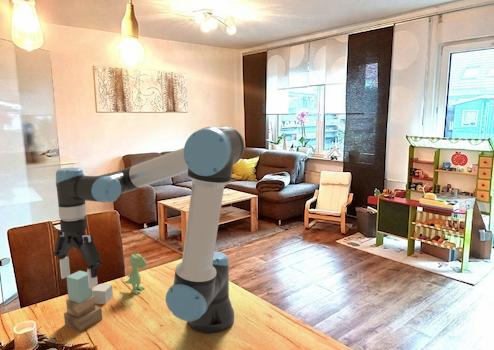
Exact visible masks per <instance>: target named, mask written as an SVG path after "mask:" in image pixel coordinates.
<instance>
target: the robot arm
mask: <svg viewBox="0 0 494 350" xmlns="http://www.w3.org/2000/svg"><path fill="white" fill-rule="evenodd" d="M245 146H246V145H245V139H244V137H243V136H242V134H241V133H240V132H239V131H238V130H237V129H236V128H234V127H231V126H227V125H221V126H205V127H203V128H200V129H197V130H196V131H194V132H193V133H191V134H190V136H188V137H187V139H186V141H185V144H184V146H183V147H182V148H179V149H176V150H174V151H171V152H168V153H165V154H162V155H160V156H157V157H154V158H152V159H149V160H146V161H143V162H140V163H138V164H134V165H132V166H129V167H126V168H123V169H121V170H120V169H119V170H117V171H113V172H110V173H106V174H101V175H84V171H83V169H82V168H81V167H80V168H79V167H64V168H59V169H57V170H56V172H55V186H56V187H55V188H56V193H57V204H58V216H59V217H58V218H59V219H60V220H59V224H60V230H57V239H56V244H55V247H54V250H53V251H54V252H53V255H54V257H57V259H58V260H59V261H58V262H59V268H60V278H61V280H64V279H67V276H69V275H71V269H70V258H69V257H70V256H69V252H70V251H71V248H72V247H73V248H75V249H76V250H77V251H79V252H80V254H81V256H82V257H83V260H84V261H85V262H86V264H87V266H88V267H87V268H86V269H87V270H86V272H87V273H88V284H89V288H90V289H91V288H92V289H94V288H95V287H97V286H98V285H99V284H98V281H99V280H98V276H99V275H98V267H100V266H102V265H103V262H102V259H101V256H100V254H99V252H98V249H97V246H96V244H95V243H94V235H92V234H89V235H87V234H86V232H85V231H86V230H87V229H88V217H87V216H86V215H87V207H86V202H98V203H113V202H116V201H117V200H118V198H119V197H120V195H123V194H125V193H129V192H132V191H135V190H137V189H140V188H144V187H147V186H150V185H153V184H155V183H158V182H162V181H165V180H168V179H170V178H171V179H172V178H173V177H177V176H180V175H183V174H186V173H187V177H188V178H189V180H190V181H191V189H190V198H189V206H188V212H187V213H188V214H187V222H186V230H185V236H184V237H185V238H184V243H183V251H182V259H181V260H182V261H181V262H179V263H178V264H176V267H175V271H174V276H173V277H174V280H173V284H172V285H171V286H169V287H168V289H167V292H166V295H165V303H166V304H165V305H166V307H167V308H168V310H169V311H170V312H171V313H172V315H173V316H175V317H176V318H177V319H179V320H181V321H183V322H184V321H185V322H188V325H189V326H190V327H191V329H193V330H194V331H196V332H199V333H204V334H214V333H215V334H216V333H219V332H222V331H224V330H225V331H226V330H227V329H229V328H230V327H231V326H232V325H233V323H234V322H235V311H234V308H233V306H232V302H231V300H230V295H229V294H230V292H229V291H230V288H229V286H230V281H229V280H230V276H229V275H230V273H229V269H230V268H229V267H230V263H229V257H228V255H227V254H226V253H223V252H220V251H215V249H216V243H217V236H218V229H219V224H220V216H221V209H222V204H223V197H224V191H225V190H224V189H225V187H226V185H228V184H229V183H231V181H232V174H233V170H234V169H233V168H234V165H235V164H237V163H238V162H239V161H240V160H241V159H242V157H243V155H244V152H245Z"/></svg>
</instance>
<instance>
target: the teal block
mask: <svg viewBox="0 0 494 350" xmlns="http://www.w3.org/2000/svg"><path fill="white" fill-rule="evenodd" d="M66 287H67V288H66V289H67V296H68V298H67V299H69V300H70V301H73V302H76V303H79V304H80V303H81V302H83V301H85V300H87V299H89V298H90V297H92V296H93V295H92V290H93V288H91V289H90V288H89V284H88V273H87V271H83V270H77V271H76V272H74V273H70V275H69V276H67V277H66Z"/></svg>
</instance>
